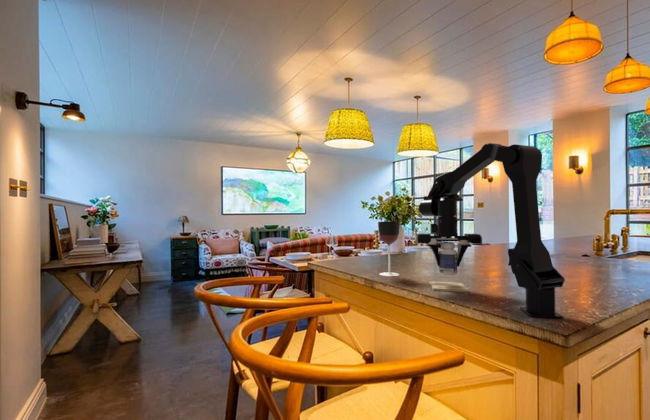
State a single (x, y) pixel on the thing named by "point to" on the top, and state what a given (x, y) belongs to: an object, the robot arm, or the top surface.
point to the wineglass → (388, 239)
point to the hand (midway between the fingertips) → (448, 266)
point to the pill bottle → (448, 259)
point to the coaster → (448, 286)
